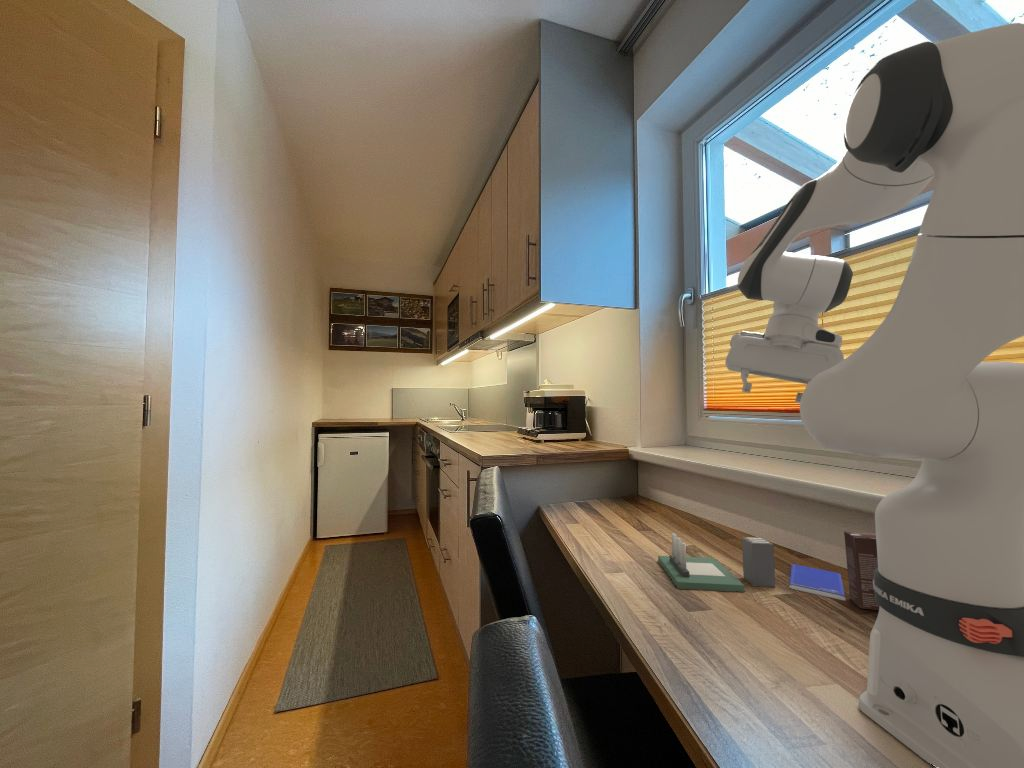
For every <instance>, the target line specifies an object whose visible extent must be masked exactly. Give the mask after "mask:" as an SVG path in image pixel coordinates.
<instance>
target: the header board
mask: <svg viewBox="0 0 1024 768" xmlns="http://www.w3.org/2000/svg"><path fill="white" fill-rule="evenodd" d="M657 558H658V559H657V561H658V563H659V564H660V566H661V565H662V566H661V567H662V568H663V570H664V571H665V573H666V572H667V573H666V574H667V576H668V577H669V576H670V577H669V578H670V580H671V579H672V580H671V581H672V583H674V585H675V586H677V587H676V588H677V589H678V588H680V589H681V590H697V589H698V591H699V590H700V591H701V590H703V591H719V592H720V591H721V592H736V591H738V593H739V592H741V593H744V592H745V590H746V589H745V584H743V582H741V581H740V580H739V579H738V578H737V577H736V576H734V575H733V573H731V572H730V571H729V570H728V569H727V568H726V567H724V565H722V564H721V563H720V562H719V561H718V560H717V559H716V558H714V557H697V556H687V545H686V542H682V538H680V537H677V533H671V555H658V556H657Z"/></svg>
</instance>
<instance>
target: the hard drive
mask: <svg viewBox="0 0 1024 768" xmlns="http://www.w3.org/2000/svg"><path fill="white" fill-rule="evenodd" d="M788 586H789V589H790V588H791V589H790V590H795V591H799V592H804V593H808V594H813V595H817V596H822V597H825V598H826V597H827V598H830V599H834V600H839V601H844V602H845V601H846V595H845V594H846V593H845V590H844V584H843V579H842V575H841V573H839V572H835V571H830V570H824V569H819V568H815V567H809V566H805V565H799V564H791V569H790V577H789V584H788Z"/></svg>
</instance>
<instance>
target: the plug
mask: <svg viewBox="0 0 1024 768" xmlns="http://www.w3.org/2000/svg"><path fill="white" fill-rule="evenodd" d="M741 542H742V543H741V544H742V545H741V547H742V548H741V549H742V571H743V572H742V573H743V579H745V580H746V581H747V582H748V583H749V582H750V583H749V584H751V585H752V587H763V586H764V587H765V588H768V587H769V588H776V570H775V569H776V568H775V545H774V544H773V543H772V542H771V541H769V540H767V539H765V538H763V537H750V536H749V537H747V536H746V537H745V536H742V537H741Z"/></svg>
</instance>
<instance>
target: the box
mask: <svg viewBox="0 0 1024 768" xmlns="http://www.w3.org/2000/svg"><path fill="white" fill-rule="evenodd" d="M843 533H844V544H845V558H846V567H847V580H848V581H847V582H848V589H849V590H848V591H849V593H848V594H849V599H850V600H851V601H852V602H853V603H854V604H855V605H856V606H858V607H859V608H860V609H867V610H873V611H879V606H880V605H879V604H878V603H877V602H876V601H875V593H874V588H873V580H874V570H875V569H876V568H878V558H877V543H876V532H874V533H872V532H859V531H849V530H848V531H847V530H845V531H844V532H843Z"/></svg>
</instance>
